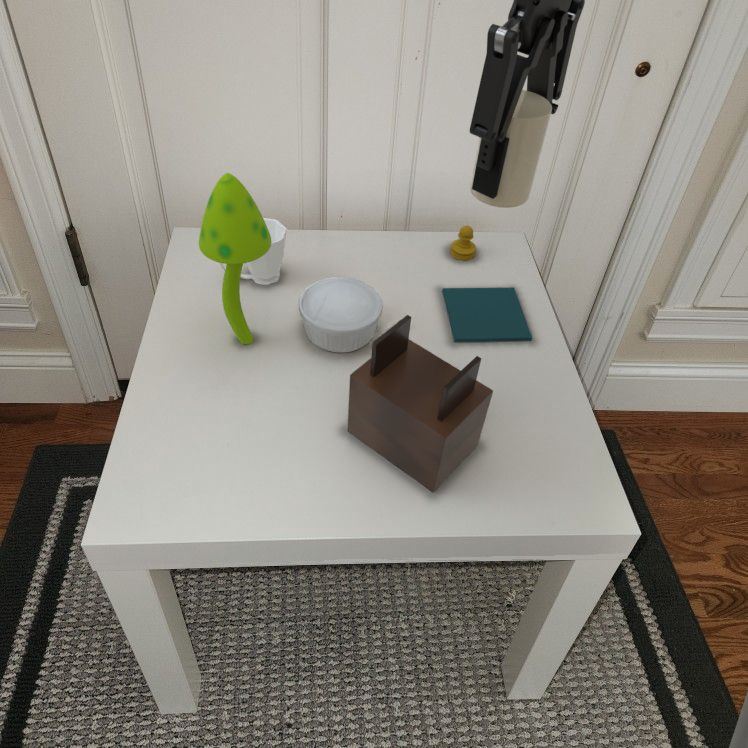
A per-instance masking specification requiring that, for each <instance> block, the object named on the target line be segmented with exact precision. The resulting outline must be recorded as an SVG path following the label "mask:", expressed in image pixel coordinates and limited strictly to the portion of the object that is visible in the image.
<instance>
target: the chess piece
mask: <svg viewBox="0 0 748 748" xmlns="http://www.w3.org/2000/svg"><path fill="white" fill-rule="evenodd" d="M457 235H458V236H457V237H458V238H459V239H456V240H454V241H452V243H451V244H450V245H451V246H450V251H449V252H450V255H451V257H453V258H454V259H456V260H458V261H464V262H465V261H470V260H472V259H473V258H474V257H475V254H476V250H477V245H476V244H475V243H474V242H473V241H471V240H473V239H474V229H473V227H472V226H470V225H463V226H461V228H459V233H458V234H457Z"/></svg>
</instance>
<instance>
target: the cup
mask: <svg viewBox="0 0 748 748" xmlns="http://www.w3.org/2000/svg"><path fill="white" fill-rule="evenodd" d="M263 219H264V221H265V223H266V226H267V228H268V230H269V233H270V236H271V246H270V249H269V250H268V251H267V253H266V254H264V255H263V256H262V257H260V258H258V259H256V260H254V261H251V262H248V263H245V264H246V267H247V269H248V272H250V274H247V273H246V274H245V273H242V272H241V277H240V279H244V280H246V281H247V280H253V282H254V283H256V285H265V286H269V285H272V284H275V283H277V282H279V279H280V277H281V272H280V270H281V269H282V264H283V258H284V255H285V254H284V253H285V246H286V239H287V230H288V228H287V227H286V226H284V224H283V223H281V222H280V221H279V220H278V219H277V218H276V219H275V218H269V217H268V218H267V217H263ZM219 265H220V267H221V269H222V270H224V271H225V269H226V264H224V263H219Z"/></svg>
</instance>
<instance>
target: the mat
mask: <svg viewBox="0 0 748 748" xmlns="http://www.w3.org/2000/svg"><path fill="white" fill-rule="evenodd" d="M441 292H442V297H443V300H444V304H445V308H446V309H445V310H446V312H447V317H448V321H449V325H450V329H451V333H452V337H453V342H454V343H479V342H481V343H483V342H525V341H528V342H530V341H532V340H533V336H532V333H531V331H530V328H529V325H528V322H527V320H526V316H525V314H524V311H523V308H522V306H521V303H520V300H519V297H518V294H517V291H516V289H515V287H514V286H513V287H511V286H510V287H442V290H441Z"/></svg>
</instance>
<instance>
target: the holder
mask: <svg viewBox="0 0 748 748" xmlns="http://www.w3.org/2000/svg"><path fill="white" fill-rule="evenodd" d="M411 324H412V316H411V315H409V314H406V315H405V316H404V317H403V318H400V320H399V321H398V322H396V323H395V324H393V326H391V327H390V328H388V329H387V330H386V331H385V332H383V333H382V334H381V335H380V336H379V337H377V338H376V339H374V340H373V341H372V342H371V354H370V355H371V356H370V358H369V359H368V360H366V361H365V362H364V363H363V364H362V365H360V366H359V367H358V368H357V369H355V370H354V371H352V372H351V373H350V374H349V386H348V387H349V390H348V409H347V410H348V411H347V413H348V414H347V432H348V433H349V434H351V435H352V436H353V437H355V438H356V439H358V440H359V441H360V442H362V443H363V444H365V445H366V446H367V447H369V448H370V449H372V450H373V451H374V452H375V453H377V454H379V455H380V456H381V457H383V458H384V459H386V460H387V461H388V462H390V463H391V464H392V465H394V466H395V467H397V468H398V469H400V470H401V471H402V472H404V474H406V475H408V476H409V477H410V478H412V479H413V480H415V481H416V482H417V483H419V484H420V485H422V486H423V487H424V488H426V489H428V490H429V491H430V492H431V493H435V492H436V491H437V490H438V489H439V488H440V486H441V485H443V483H444V482H445V481H446V480H448V478H449V477H450V476H451V475H452V474H453V473H454V472H455V470H457V468H458V467H459V466H460V465H461V464H463V462H464V461H465V460H466V459H468V457H469V456H470V455H471V454H472V452H474V450H475V449H476V448H477V447H478V446H479V442H480V439H481V435H482V432H483V428H484V425H485V421H486V417H487V415H488V412H489V407H490V404H491V400H492V397H493V393H494V390H493V389H492V388H490V387H488V385H485V384H483V383H482V382H480V381H478V380H477V378H478V375H479V370H480V366H481V363H482V359H483V358H482V357H480V356H479V355H476V356H475V357H474V358H473V359H472V360H471V361H470V362H468V363H467V364H466V365H465V366H464V367H463V368H462V369H459V368H457V367H456V366H454V365H452V364H451V363H449V362H448V361H446V360H444V359H442V358H440V357H439V356H437V355H436V354H434V353H432V352H431V351H430V350H427V349H426V348H424V347H423V346H421V345H419V344H418V343H416V342H414V341H413V340H411V339H410V333H411V332H410V331H411V326H412V325H411Z"/></svg>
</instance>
